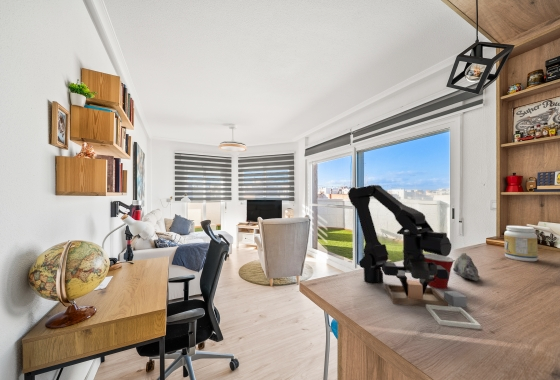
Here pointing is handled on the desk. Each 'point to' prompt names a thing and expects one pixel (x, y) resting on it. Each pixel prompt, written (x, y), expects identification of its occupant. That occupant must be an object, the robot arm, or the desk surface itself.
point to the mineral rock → (466, 267)
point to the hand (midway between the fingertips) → (413, 296)
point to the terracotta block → (415, 289)
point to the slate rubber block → (455, 299)
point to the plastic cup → (442, 261)
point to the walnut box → (429, 298)
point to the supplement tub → (521, 243)
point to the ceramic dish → (453, 323)
